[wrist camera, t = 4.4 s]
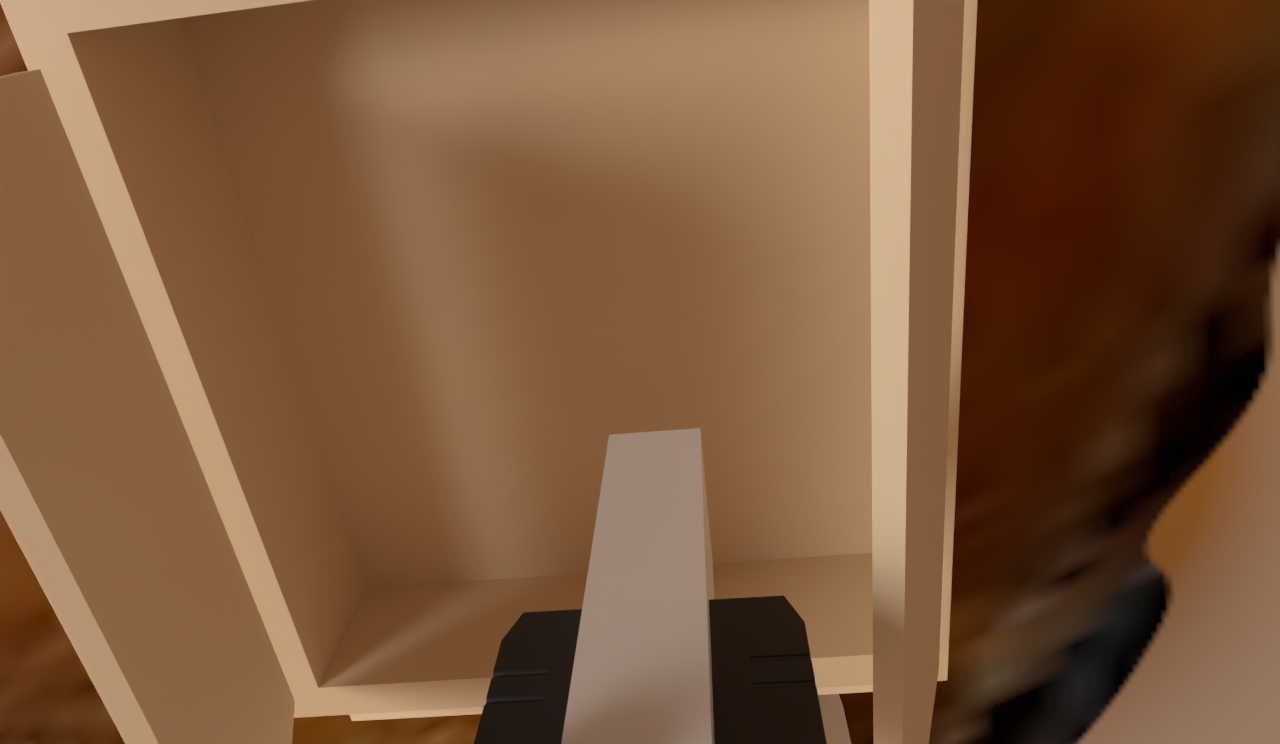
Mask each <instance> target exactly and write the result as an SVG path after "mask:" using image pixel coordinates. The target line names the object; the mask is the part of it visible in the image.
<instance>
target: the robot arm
mask: <svg viewBox="0 0 1280 744" xmlns="http://www.w3.org/2000/svg"><path fill="white" fill-rule="evenodd" d="M474 744H827V742H826V737H825V731H824V726H823V720H822V715H821V709H820V704H819V698H818V693H817V687H816V684H815V676H814V671H813V665H812V660H811V656H810V649H809V643H808V638H807V632H806V627H805V622H804V620H803V619H802V618H801V617H800V615H799V614H798V613H797V612H796V610H795V609H794V608H793V606H792V605H791V604H790V603H789V601H788V600H787V599H786V598H785V596H784V595H782V596H765V597H747V598H729V599H714V579H713V560H712V549H711V538H710V527H709V516H708V506H707V495H706V484H705V473H704V462H703V451H702V440H701V429H700V428H694V429H680V430H666V431H653V432H639V433H625V434H612V435H609V439H608V446H607V452H606V459H605V465H604V471H603V478H602V484H601V491H600V497H599V504H598V510H597V517H596V523H595V529H594V536H593V542H592V549H591V555H590V562H589V568H588V575H587V581H586V587H585V594H584V600H583V607H582V609H575V610H557V611H539V612H523V614H522V615H521V616H520V618H519V619H518V620H517V621H516V623H515V624H514V625H513V626H512V628H511V629H510V630H509V631H508V633H507V634H506V635H505V636H504V638H503V639H502V640H501V644H500V648H499V652H498V655H497V659H496V663H495V667H494V670H493V678H491V682H490V685H489V689H488V693H487V697H486V704H484V708H483V712H482V715H481V719H480V723H479V727H478V730H477V734H476V738H475V742H474Z"/></svg>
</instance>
